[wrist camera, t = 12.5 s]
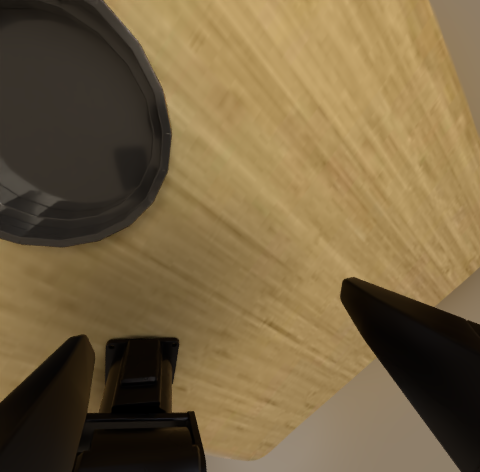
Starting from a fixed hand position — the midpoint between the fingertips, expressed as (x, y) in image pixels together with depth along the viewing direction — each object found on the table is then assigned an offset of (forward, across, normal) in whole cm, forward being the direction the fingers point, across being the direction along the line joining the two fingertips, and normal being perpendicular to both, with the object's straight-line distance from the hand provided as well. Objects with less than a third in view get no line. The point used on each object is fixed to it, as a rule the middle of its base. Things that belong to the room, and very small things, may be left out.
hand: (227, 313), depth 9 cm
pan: (+12, +8, -6) cm, 16 cm away
